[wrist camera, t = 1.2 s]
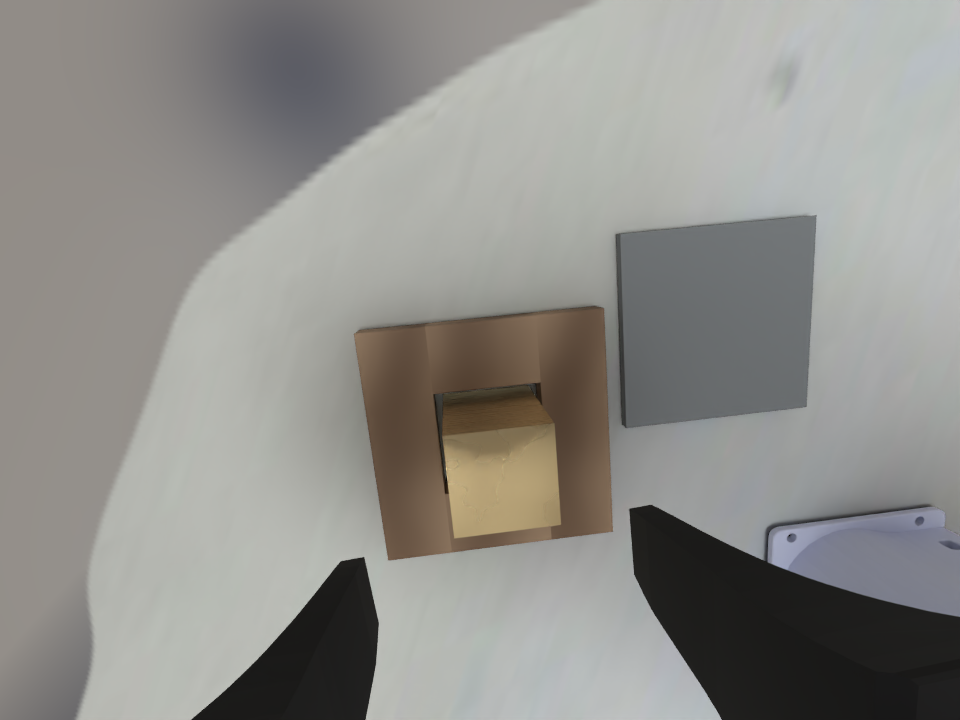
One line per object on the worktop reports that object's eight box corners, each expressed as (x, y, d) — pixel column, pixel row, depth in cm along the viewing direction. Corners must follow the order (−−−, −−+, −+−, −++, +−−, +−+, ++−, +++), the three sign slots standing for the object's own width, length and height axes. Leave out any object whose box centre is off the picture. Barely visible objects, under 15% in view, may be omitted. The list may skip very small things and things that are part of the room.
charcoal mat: (807, 216, 21) (816, 215, 20) (798, 403, 23) (806, 406, 22) (616, 234, 20) (620, 233, 20) (622, 424, 22) (626, 428, 22)
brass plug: (527, 384, 21) (554, 423, 16) (533, 463, 22) (560, 524, 17) (443, 394, 21) (442, 436, 16) (452, 473, 22) (454, 538, 17)
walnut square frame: (595, 306, 21) (603, 308, 20) (604, 518, 23) (612, 531, 22) (359, 330, 20) (353, 333, 19) (391, 545, 22) (388, 560, 21)
